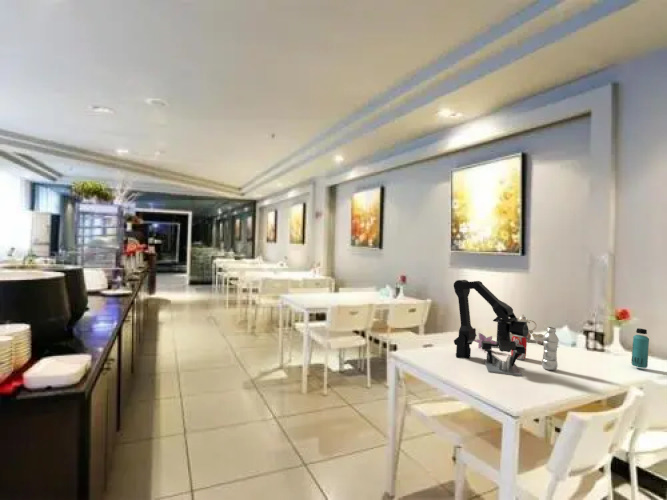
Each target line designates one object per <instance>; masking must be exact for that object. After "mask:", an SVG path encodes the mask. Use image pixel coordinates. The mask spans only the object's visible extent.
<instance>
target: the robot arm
mask: <svg viewBox="0 0 667 500" xmlns="http://www.w3.org/2000/svg"><path fill="white" fill-rule="evenodd" d="M453 289H454V293H455V295H456V296H457V298H458V299H457V300H458V308H459V309H458V310H459V318H460V319H459V320H460V321H459V322H460V327H459V330H458V337H456V338H455V339H454V340H453V343H454V344H453V345H455V346H456V349H455V351H456V353H455V357H456V358H458V359H459V358H461V359H468V360H469V359H470V358H471V351H472V349H471V346H472V344H473V342H475V341H474V340H476V337H477V332H476V331H477V329H476V327H473V326H472V324H471V315H470V314H471V313H470V303H469V295H470V291H471V290H473V289H474V290H475V291H476V292H477V293H478V294H479V295H480V296H481V297H482V298H483V299H484V300H485V301H486V302H487V303H488V305H490V306H491V308H492V311H493V313H495V315H496V318H494V319H492V321H493V322H495V323H497V325H496V326H497V327H496V340H495V341H496V344H491V342H490V341H482V342H481V347H482V348H481V349H483V350H484V352H486V353H488V355H489V358H490V362H491V364H492V354H493V352H492V350H491V348H492V349H499V351H500V352H507V353H511V350H513V356H512V366H513V365H514V363H515V364H516V361H517V360H518V359H517V357H518V356H519V355H522V353H523V354H525V351H526V352H527V349H526V350H525V347H524V346H523V345H519V344H516V342H514V341H512V340H510V333H512V334H513V335H518V336H523V337H526V336H527V335H528V331H529V330H530V329H529V326H528V322H524V321H518V319H517V318H518V317H517V316H516V314H515V313H514V309H513V308H512V306H510V305H508V303H506V302H504V301H501V300H500V299H499V298H498V297H497V296H496V295H495V294H494V293H493V292H492V291H490V290H489V289H488V288H487V286H485V285H484V284H483V282H482V281H481V280H474V281H468V280H467V279H457V280H455V281H454V283H453ZM470 345H471V346H470Z"/></svg>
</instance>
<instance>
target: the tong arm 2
mask: <svg viewBox="0 0 667 500" xmlns="http://www.w3.org/2000/svg"><path fill="white" fill-rule="evenodd" d="M512 356H513V355H511V354H508V355H507V358H506V360H505V362H507V367H506V370H509V367H510V365H512Z"/></svg>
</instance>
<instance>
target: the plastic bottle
mask: <svg viewBox="0 0 667 500" xmlns="http://www.w3.org/2000/svg"><path fill="white" fill-rule="evenodd" d="M556 330H557V328H556V327H554V326H553V327H552V326H547V328H546V333H545V334H543V335H544V336H543V343H542V344H543V354H542V359H541V366H542V368H543V369H545V370H549V371H556V370H557V369H558V364H559V363H558V356H557V355H558V354H557V353H558V345H559V337H558V335H557V333H556V332H557V331H556Z"/></svg>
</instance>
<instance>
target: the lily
mask: <svg viewBox="0 0 667 500" xmlns="http://www.w3.org/2000/svg"><path fill="white" fill-rule="evenodd" d="M482 341H490V342H491V344H496V341H497V340H493V336H491V335H490V336H485V335H484V334H483V333H480V332H478V339H475V340H474V341H473V342H475V343H477V344H478V345H477V347H478V349H482V347H481V342H482ZM492 349H493V348H491V350H492Z"/></svg>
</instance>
